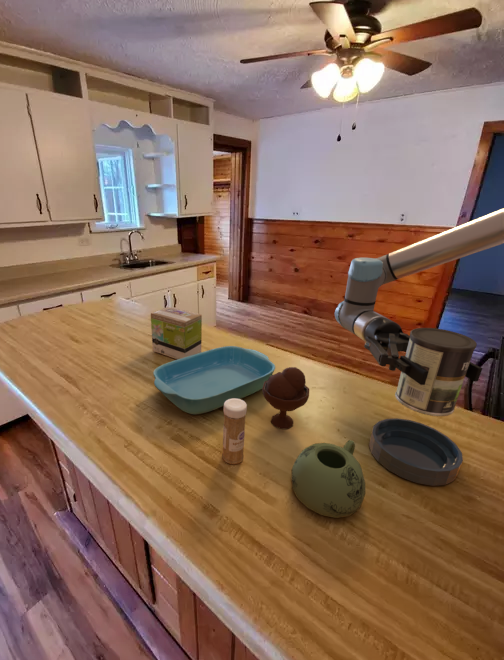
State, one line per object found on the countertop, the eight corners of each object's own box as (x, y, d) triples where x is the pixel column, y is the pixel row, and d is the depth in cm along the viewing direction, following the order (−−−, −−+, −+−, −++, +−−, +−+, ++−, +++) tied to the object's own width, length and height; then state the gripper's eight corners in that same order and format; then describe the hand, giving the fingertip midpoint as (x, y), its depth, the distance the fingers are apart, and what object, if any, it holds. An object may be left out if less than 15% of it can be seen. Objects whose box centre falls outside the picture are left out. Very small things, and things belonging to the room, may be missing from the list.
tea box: (151, 352, 119) (149, 312, 114) (169, 342, 127) (168, 305, 121) (185, 363, 111) (184, 321, 106) (202, 352, 119) (202, 313, 113)
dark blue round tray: (437, 438, 77) (442, 424, 76) (472, 494, 63) (479, 477, 61) (362, 427, 81) (365, 414, 79) (378, 478, 66) (383, 462, 65)
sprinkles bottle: (238, 468, 68) (241, 413, 63) (218, 460, 70) (219, 406, 65) (246, 454, 72) (250, 401, 67) (227, 447, 74) (229, 395, 69)
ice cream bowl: (288, 405, 89) (294, 354, 83) (314, 431, 79) (322, 375, 74) (252, 412, 86) (256, 360, 80) (274, 440, 76) (280, 383, 71)
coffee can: (453, 397, 69) (474, 334, 64) (455, 423, 61) (479, 353, 56) (396, 383, 74) (412, 323, 69) (391, 405, 66) (408, 340, 61)
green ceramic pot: (341, 538, 54) (350, 499, 51) (275, 491, 63) (279, 454, 60) (380, 486, 64) (390, 450, 61) (319, 451, 73) (325, 418, 70)
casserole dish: (236, 358, 115) (237, 339, 112) (287, 385, 99) (290, 363, 96) (139, 392, 94) (137, 370, 92) (183, 434, 78) (183, 408, 75)
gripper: (416, 343, 84) (500, 390, 63) (331, 347, 81) (389, 398, 61) (424, 315, 81) (514, 354, 61) (336, 318, 78) (398, 361, 58)
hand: (451, 376), depth 61 cm, fingers closed on coffee can, 10 cm apart
